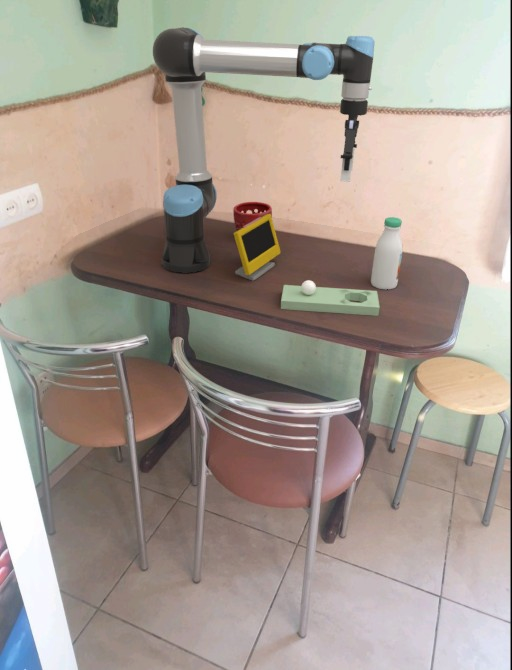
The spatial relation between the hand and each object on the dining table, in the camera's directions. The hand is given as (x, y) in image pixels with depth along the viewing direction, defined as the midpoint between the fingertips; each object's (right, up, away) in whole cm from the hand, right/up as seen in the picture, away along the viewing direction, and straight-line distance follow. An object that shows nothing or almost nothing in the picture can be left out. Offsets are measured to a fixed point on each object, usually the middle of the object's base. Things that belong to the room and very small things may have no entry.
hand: (346, 175), depth 163 cm
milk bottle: (+11, -33, -2) cm, 35 cm away
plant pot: (-29, -15, +28) cm, 42 cm away
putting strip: (-7, -39, -13) cm, 42 cm away
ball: (-13, -35, -15) cm, 40 cm away
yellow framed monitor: (-28, -28, +5) cm, 40 cm away
